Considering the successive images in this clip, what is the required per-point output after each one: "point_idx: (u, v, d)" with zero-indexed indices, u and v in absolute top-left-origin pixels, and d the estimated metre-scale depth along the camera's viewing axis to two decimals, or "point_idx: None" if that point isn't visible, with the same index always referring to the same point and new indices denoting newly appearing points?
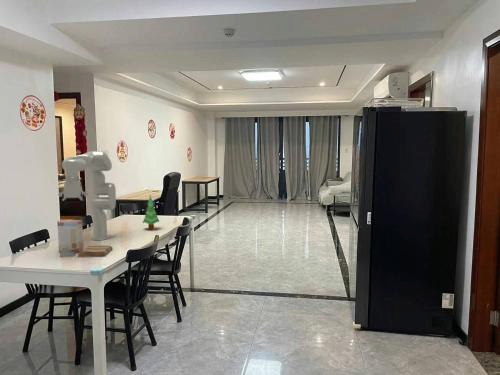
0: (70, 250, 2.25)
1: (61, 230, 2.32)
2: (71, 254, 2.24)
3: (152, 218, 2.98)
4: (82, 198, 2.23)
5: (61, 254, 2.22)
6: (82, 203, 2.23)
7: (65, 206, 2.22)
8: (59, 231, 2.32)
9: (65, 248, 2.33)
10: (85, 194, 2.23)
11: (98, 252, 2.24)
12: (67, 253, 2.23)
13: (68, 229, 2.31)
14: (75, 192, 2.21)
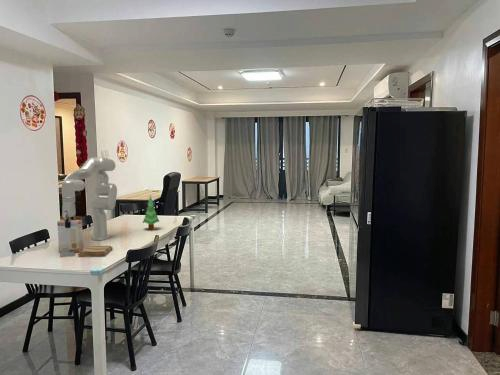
0: (70, 250, 2.26)
1: (61, 230, 2.32)
2: (70, 254, 2.24)
3: (152, 218, 2.98)
4: None
5: (61, 254, 2.22)
6: None
7: (69, 227, 2.31)
8: (59, 231, 2.32)
9: (65, 248, 2.33)
10: None
11: (98, 252, 2.24)
12: (67, 253, 2.24)
13: (68, 229, 2.31)
14: (74, 210, 2.36)
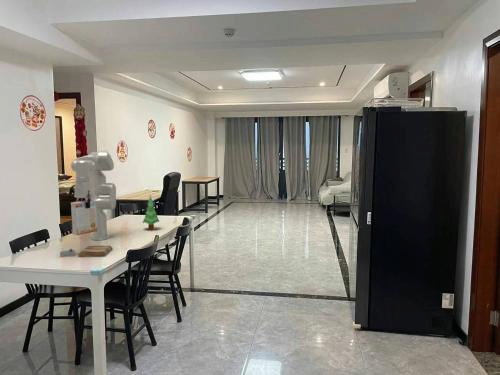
0: (70, 250, 2.26)
1: (79, 211, 2.25)
2: (70, 254, 2.25)
3: (152, 218, 2.98)
4: (79, 199, 2.32)
5: (61, 254, 2.23)
6: None
7: None
8: (77, 213, 2.24)
9: (84, 229, 2.28)
10: None
11: (98, 252, 2.24)
12: (67, 253, 2.24)
13: (87, 209, 2.29)
14: None
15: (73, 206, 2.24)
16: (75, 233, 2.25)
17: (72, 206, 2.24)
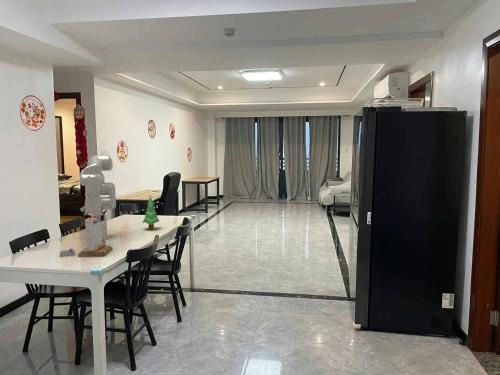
0: (70, 250, 2.26)
1: (95, 227, 2.25)
2: (70, 253, 2.25)
3: (152, 218, 2.98)
4: None
5: (61, 254, 2.23)
6: None
7: None
8: (95, 229, 2.24)
9: (98, 245, 2.28)
10: None
11: (98, 252, 2.24)
12: (67, 253, 2.24)
13: (99, 224, 2.30)
14: None
15: (89, 222, 2.22)
16: (92, 250, 2.24)
17: (88, 222, 2.22)
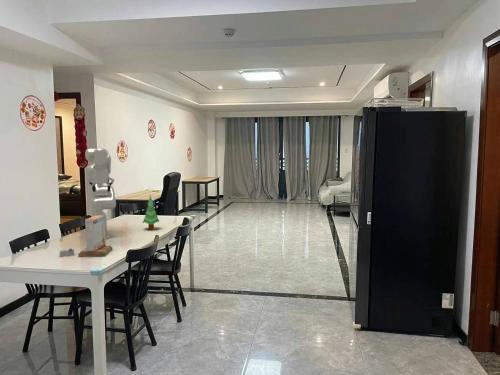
0: (69, 249, 2.26)
1: (96, 227, 2.25)
2: (70, 253, 2.25)
3: (152, 218, 2.98)
4: None
5: (61, 254, 2.23)
6: None
7: None
8: (95, 229, 2.24)
9: (98, 245, 2.28)
10: None
11: (98, 252, 2.24)
12: (67, 253, 2.24)
13: (99, 224, 2.30)
14: None
15: (89, 222, 2.22)
16: (92, 250, 2.24)
17: (88, 222, 2.22)
